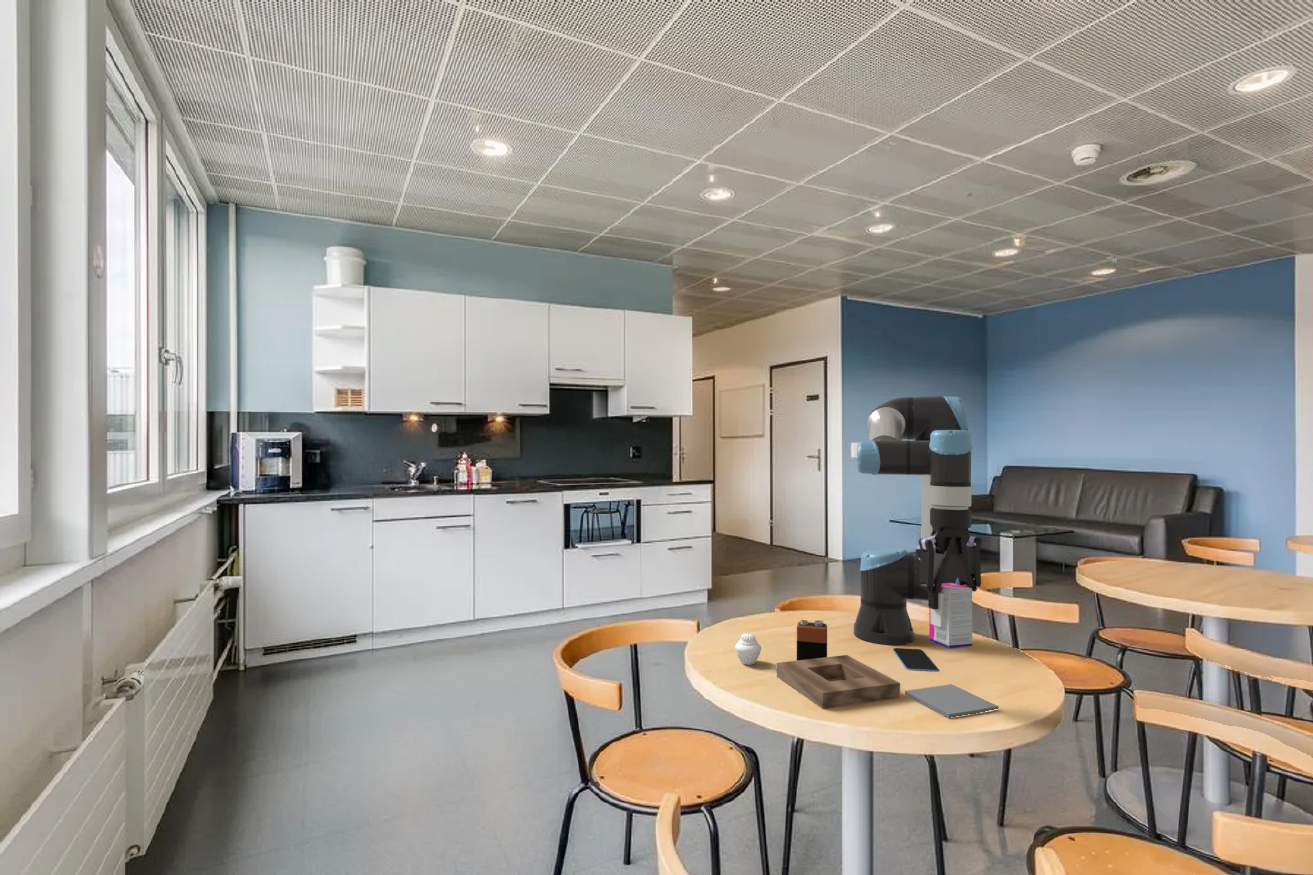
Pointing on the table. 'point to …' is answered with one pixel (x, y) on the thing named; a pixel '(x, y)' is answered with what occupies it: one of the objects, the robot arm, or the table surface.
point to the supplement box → (954, 618)
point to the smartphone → (915, 659)
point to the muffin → (748, 649)
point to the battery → (811, 640)
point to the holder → (853, 690)
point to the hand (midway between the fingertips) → (950, 623)
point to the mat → (950, 700)
